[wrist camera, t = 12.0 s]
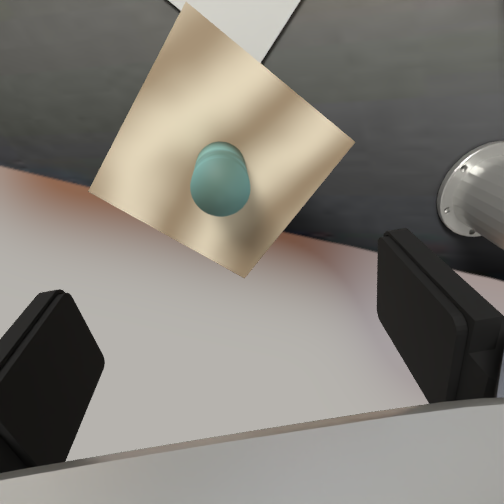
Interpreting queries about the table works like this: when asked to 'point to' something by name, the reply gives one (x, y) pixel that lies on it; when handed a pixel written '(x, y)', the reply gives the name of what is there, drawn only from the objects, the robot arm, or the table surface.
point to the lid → (217, 148)
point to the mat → (246, 20)
